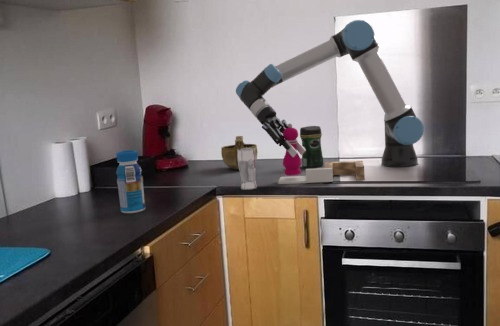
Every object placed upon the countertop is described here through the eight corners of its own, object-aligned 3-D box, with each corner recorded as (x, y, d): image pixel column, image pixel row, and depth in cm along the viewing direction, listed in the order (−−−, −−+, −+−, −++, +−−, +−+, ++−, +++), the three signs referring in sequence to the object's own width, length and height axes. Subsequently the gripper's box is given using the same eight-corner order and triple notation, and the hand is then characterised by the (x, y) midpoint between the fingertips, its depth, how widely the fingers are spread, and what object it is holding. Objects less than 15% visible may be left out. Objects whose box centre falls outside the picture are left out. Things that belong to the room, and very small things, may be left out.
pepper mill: (301, 171, 198) (299, 122, 195) (301, 175, 191) (299, 123, 188) (283, 172, 199) (280, 123, 196) (283, 176, 192) (280, 124, 188)
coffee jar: (318, 164, 230) (316, 124, 227) (325, 166, 223) (323, 125, 220) (299, 166, 227) (297, 126, 225) (306, 169, 220) (304, 127, 217)
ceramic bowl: (259, 171, 222) (256, 138, 220) (221, 174, 222) (219, 141, 220) (257, 163, 244) (255, 133, 242) (223, 166, 244) (221, 136, 242)
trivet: (308, 177, 199) (307, 175, 199) (306, 183, 189) (306, 181, 189) (281, 178, 201) (281, 176, 201) (277, 184, 191) (277, 182, 191)
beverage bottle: (115, 213, 162) (108, 153, 159) (129, 207, 170) (123, 149, 167) (136, 214, 159) (130, 153, 156) (151, 207, 167) (144, 149, 164)
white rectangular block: (332, 180, 188) (332, 167, 188) (332, 181, 186) (332, 168, 186) (306, 181, 190) (305, 168, 189) (306, 182, 188) (305, 169, 187)
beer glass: (260, 186, 189) (258, 147, 187) (253, 190, 183) (250, 150, 180) (244, 186, 192) (241, 148, 190) (236, 189, 186) (233, 150, 183)
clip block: (362, 172, 202) (362, 160, 201) (364, 179, 188) (364, 166, 187) (325, 174, 204) (325, 162, 204) (325, 180, 191) (324, 168, 190)
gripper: (254, 107, 190) (291, 150, 182) (281, 103, 204) (317, 144, 196) (244, 120, 194) (280, 163, 186) (272, 116, 208) (307, 156, 200)
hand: (299, 153), depth 191 cm, fingers closed on pepper mill, 5 cm apart
